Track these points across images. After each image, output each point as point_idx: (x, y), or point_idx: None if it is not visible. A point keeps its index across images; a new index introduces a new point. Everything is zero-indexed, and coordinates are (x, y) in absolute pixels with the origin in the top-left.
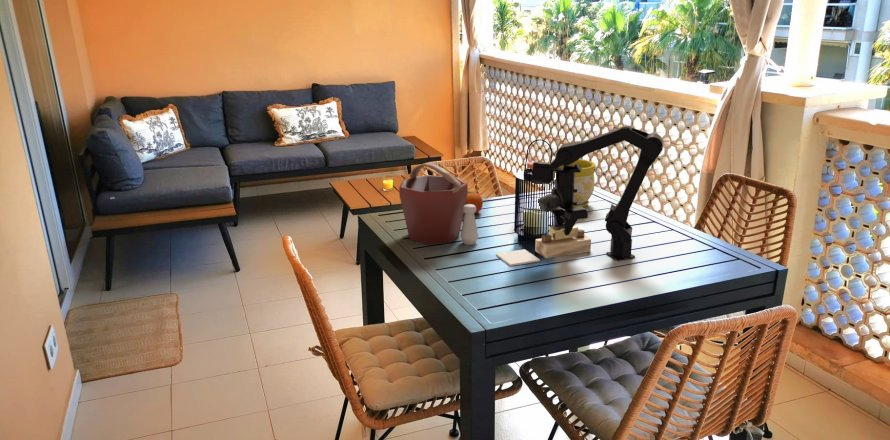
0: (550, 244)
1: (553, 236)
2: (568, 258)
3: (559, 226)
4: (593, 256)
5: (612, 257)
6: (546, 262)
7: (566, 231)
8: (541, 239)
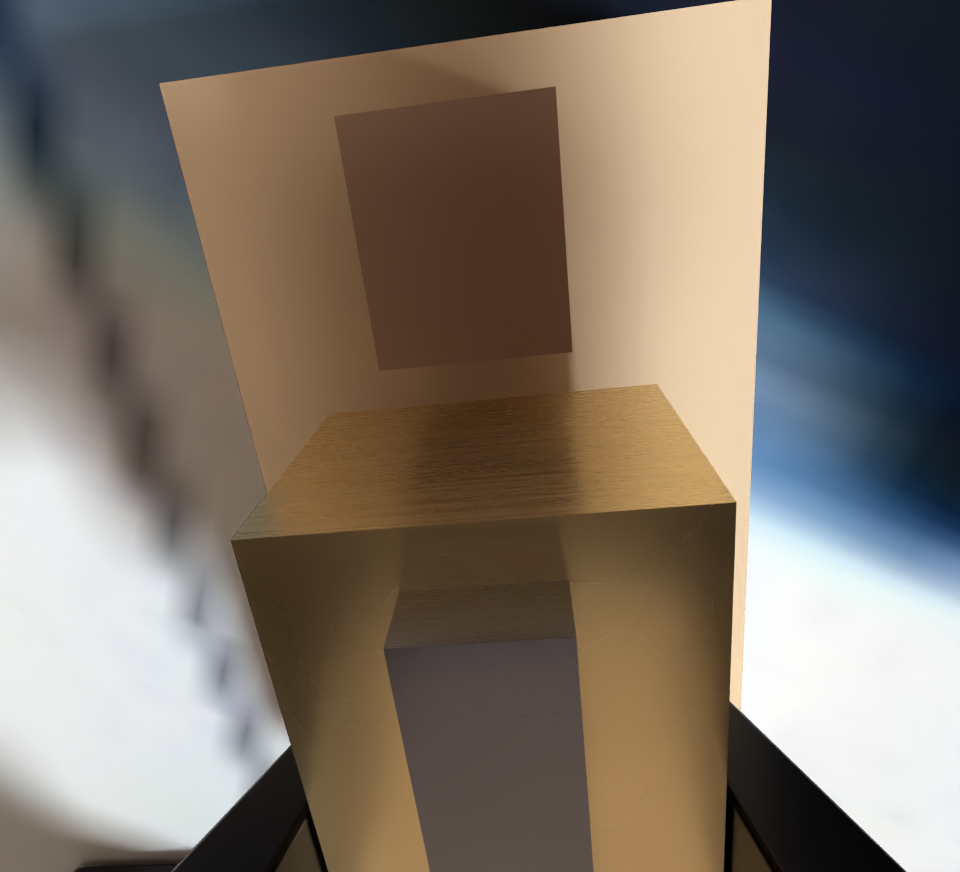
0: (260, 240)
1: (413, 428)
2: (220, 454)
3: (422, 799)
4: (242, 736)
5: (155, 865)
6: (84, 38)
7: (261, 795)
8: (682, 168)
